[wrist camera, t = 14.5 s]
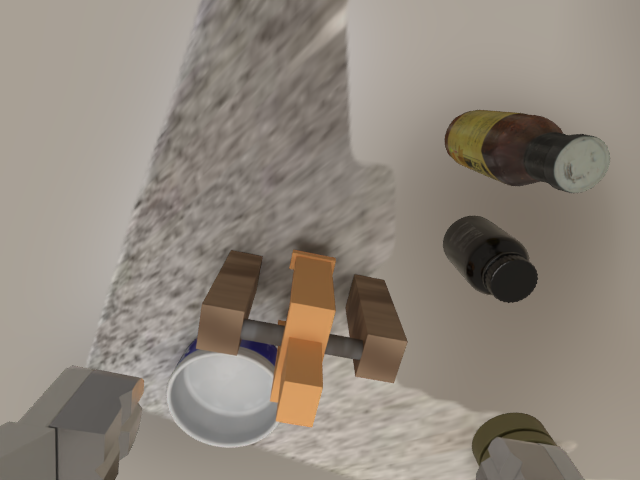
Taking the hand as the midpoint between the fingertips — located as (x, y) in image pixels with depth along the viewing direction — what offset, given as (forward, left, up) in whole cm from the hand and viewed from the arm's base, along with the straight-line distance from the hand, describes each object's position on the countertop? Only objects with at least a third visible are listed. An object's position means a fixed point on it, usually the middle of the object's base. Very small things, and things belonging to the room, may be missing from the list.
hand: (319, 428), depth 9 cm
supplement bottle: (+6, +21, -41) cm, 46 cm away
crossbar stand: (+16, +2, -40) cm, 43 cm away
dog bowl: (+32, -5, -41) cm, 52 cm away
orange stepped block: (+16, +2, -36) cm, 40 cm away
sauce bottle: (-6, +17, -41) cm, 44 cm away
